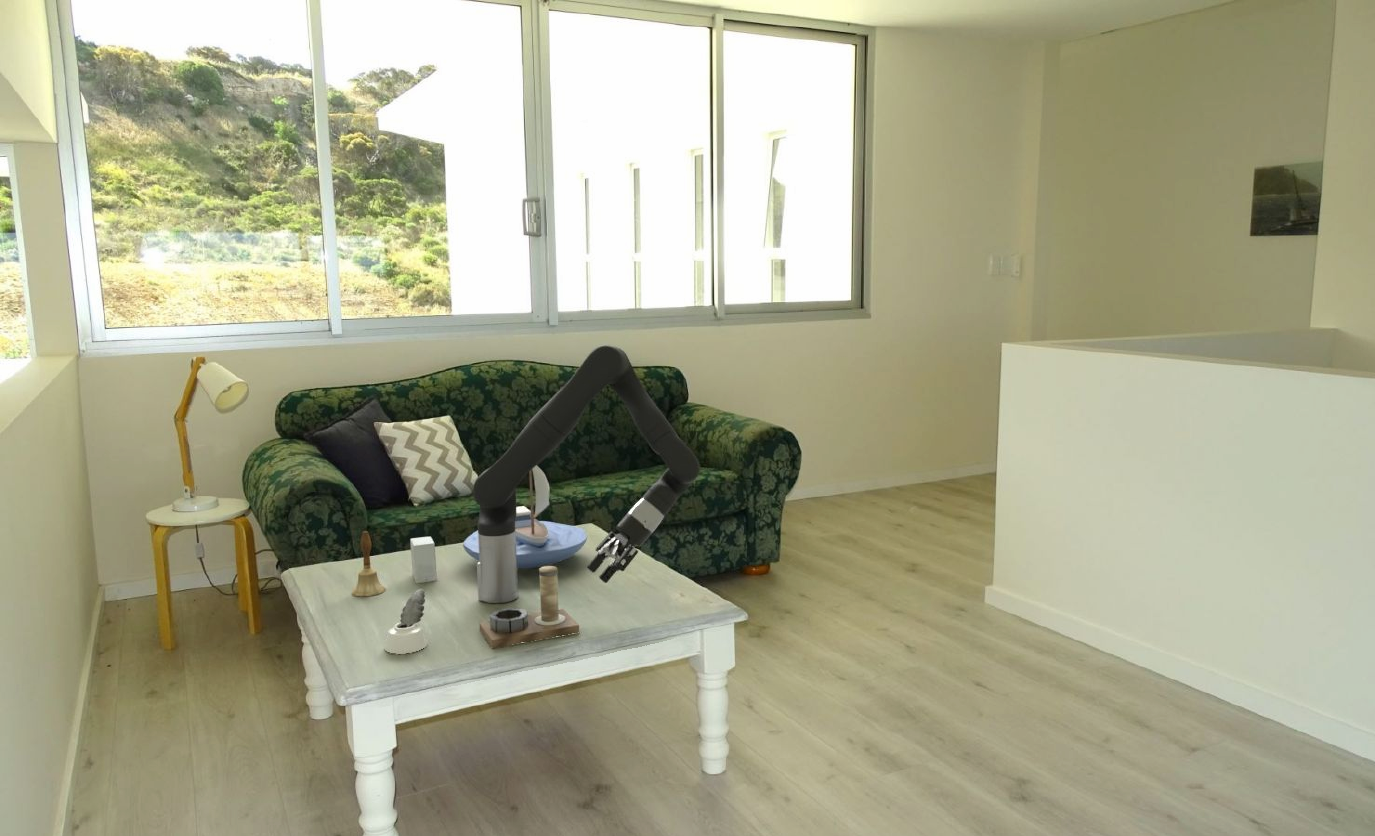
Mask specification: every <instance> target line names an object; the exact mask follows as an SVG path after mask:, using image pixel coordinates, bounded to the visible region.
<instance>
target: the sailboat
mask: <svg viewBox="0 0 1375 836" xmlns="http://www.w3.org/2000/svg"><path fill="white" fill-rule="evenodd" d="M528 473H529V498H530V499H529V500H530V502H529V503H530V509H528V508H527V507H526V506H524V505H522V506H516V521H515V532H516V554H517V570H518V569H519V570H520V569H521V570H522V569H523V570H524V569H525V570H526V569H534V568H535V569H536V568H541V567H545V566H552V565H553V564H557V563H560V562H563V561H564V560H567V559H569V558H571V557H572V556H574V555H575V554H577V553H578V552H579V551H580V550H581V549H582V548H583V546H584V545H585V544H586V542H587V539H588V535H587V533H586V530H585V529H583V528H581V527H578V526H575V525H570V524H564V523H559V522H553V521H545V520H538V519H537V517H538V516H539V515H540V514H541V513H542V512H543V511H545V509H547V507H549V505H550V500H549V498H550V483H549V481H548V479H547V476H546V474H545V472H544V471H543V470H542V469H541V468H540V467H539V466H538V464H537V465H536V466H535V467H534V468H533V469H531V470H530V471H529V472H528ZM532 474H533V475H532ZM532 477H533V478H532ZM533 480H534V490H535V508H534V496H533V495H534V494H533V492H534V491H533ZM462 547H463V549H464V551H465V552H466V553H467V554H468V555H469V556H471V557H472V558H473V559H474V560H476V561H478V562H480V561H479V542H478V529H477V530H476V531H474V532H473V533H472V534H470V535H469V536H468V537H467V538H465V540H464V541H463V542H462Z"/></svg>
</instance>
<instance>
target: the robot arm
mask: <svg viewBox="0 0 1375 836" xmlns="http://www.w3.org/2000/svg"><path fill="white" fill-rule="evenodd" d="M608 386H609V387H610V388H611V390H613V391H614V392H615V394H616V395H617V396H618V397H619V398H620V400H621V401H622V402H623V404H624V405H625V407H626V409H627V411H628V412H629V414H630V415H631V418H632V421H633V422H634V424H635V426H636V428H637V429H638V431H639V432H640V434H641V435H642V438H644V440H645V442H647V444H648V445H649V446H650V448H651V449H652V451H654V453H656V455H659V456H660V459H662V461H663V463H664V464H665V465H666V467H667V469H666V470H665V471H664V472H663V474H662V475H661V476H660V477H659V479H658V480H657V481H656V482H655V483H653V484H652V485H651V486H650V488H648V490H647V491H646V492H645V493H644V495H642V497H641V498H640V499H639V500H638V501H637V502H636V503H635V504H634V505H632V507H631V508H630V509H629V510H628V512H627V513H626V514H625V516H624V517H623V518H622V519H621V520H620V521H619V523H618V524H617V525H616V529H617V530H618V531H619V532H618V533H615V532H614V531H610V532H609V533H608V534H607V535H606V536H605V537H604V539H603V540H601V542H600V543H599V544H598V546H597V547H596V548H595V552H596V553H595V556H594V557H593V559H592V560H591V561H590V562H589V564H587V566H586V568H587V569H588V570H589V571H590V572H591V573H596V571H597V570H598V569H599V568H600V567H601V565H603V563H604V561H606V560H607V559H608V558H611V561H610V563H609V564H608V565H607V567H606V568H605V569H604V570H603V571H602V572H601V574H600V575H599V576H598V577H599V580H601V581H602V582H603V583H608V582H609V581H610V580H611V579H612V578H613V576H614V575H615V574H616V572H620V571H621V572H624V571H625V570H626V569H627V567H628V566H629V565H630V563H632V561H633V559H634V558H635V557H636V556H637V555H638V553H639V550H638V549H637V548H636V547H635V546H637V547H642V546H643V545H644V543H645V542H646V541H647V540H648V539H649V537H650V536H651V535H652V534H653V533H654V531H656V529H657V528H658V526H660V523H662V520H664V518H665V517H666V516H667V514H668V513H669V512H670V510H672V508H673V507H674V505H675V504H676V502H677V501H678V499H679V498H680V497H681V496H682V495H683V494H684V493H685V492H686V491H687V489H688V488H690V486H691V485H692V484H693V483H694V482H695V481H696V480H697V478H698V476H699V474H700V472H701V464H700V462H699V460H698V458H697V456H696V455H695V454H694V452H693V451H692V450H691V449H690V447H688V445H687V444H686V443H685V442H684V441H683V440H682V439H681V438H680V437H679V435H678V433H677V432H676V431H675V428H674V427H673V426H672V425H671V423H670V422H669V420H668V419H667V418H666V417H665V415H664V414H663V413H662V411H661V410H660V409H659V407H658V406H657V405H656V403H655V402H654V400H652V398H651V396H650V395H649V393H648V392H647V391H646V388H644V387H645V386H643V384H642V383H641V381H640V379H639V377H638V375H637V374H636V371H635V370H634V367H633V364H632V362H631V361H630V358H629V357H628V355H627V353H626V352H625V351H624V350H623V349H622V348H619V347H617V346H615V345H611V344H602V345H599V346H596V347H595V348H593V349H592V350H591V351H590V353H589V354H588V355H587V357H586V358H585V359H584V361H583V362H582V363H581V365H580V366H579V367H578V369H577V370H576V371H575V373H574V374H573V375H572V377H571V378H570V379H569V381H568V382H566V383H565V384H564V386H562V387H561V388H560V389H559V390H558V391H557V392H556V393H555V394H554V395H553V396H552V397H551V398H550V399H549V400H548V401H547V402H546V403H545V404H544V405H543V406H542V407H541V408H540V409H539V410H538V411H537V413H536V414H534V416H533V417H532V418H531V419H530V420H529V421H528V422H527V424H526V425H525V426H524V427H523V429H522V430H521V432H519V434H518V435H517V437H515V440H514V441H513V442H512V443H511V445H510V447H509V448H508V449H507V450H506V451H505V453H504V454H503V455H502V456H501V457H500V458H499V459H498V460H496V462H494V463H493V464H492V466H490V467H487V469H485V470H484V471H483V472H482V473H481V474H479V475H478V477H477V478H476V479H475V481H474V483H473V487H472V495H473V499H474V500H475V502H476V503H477V504H478V506H479V517H478V520H477V530H478V542H479V561H478V562H477V563H476V577H477V596H478V598H477V599H478V601H482V602H484V603H489V604H503V603H509V602H512V601H514V600H516V599H518V597H519V581H518V580H519V579H518V578H519V577H518V569H517V554H516V532H515V521H516V507H517V487H518V486H519V484H520V483H521V482H522V480H523V479H524V478H525V476H527V475H528V473H529V471H530V470H531V471H532V469H533V468H534V467H535V466H536V465H537V466H538V465H539V464H540V463H541V462H543V460H545V459H546V458H547V457H548V456H549V455H550V454H551V453H553V452H554V450H556V449H557V448H558V447H559V445H560V444H562V442H564V440H565V439H567V437H568V436H569V435H570V434H571V433H572V432H573V430H574V429H575V427H576V426H577V424H578V423H579V421H580V420H581V417H582V416H583V413H584V412H585V410H586V408H587V407H588V405H589V404H590V403H591V402H592V401H593V400H594V399H595V397H597V396H598V394H599V393H600V392H601V391H603V390H604V389H605V388H606V387H608Z"/></svg>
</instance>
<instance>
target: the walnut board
mask: <svg viewBox="0 0 1375 836" xmlns="http://www.w3.org/2000/svg"><path fill="white" fill-rule="evenodd" d="M559 614H560V615H563V616H565V621H564V622H563V623H561V624H557V625H552V626H543V625H538V624H536V623H535V618H536V617H538V616H541V612H535V613H530V614H529V613H528V625H529V626H528V627H527V628H526V629H525V630H523V631H520V632H516V633H512V634H511V633H510V634H501V633H495V632H494V631H492V630H491V629H490V620H488V621H487V620H486V621H481V622H478V623H479V624H478V625H479V632H480V634H481V633H482V634H481V635H482V636H483V638H484V637H485V638H484V639H485V641H486V640H487V641H486V642H487V644H488V643H489V644H490V645H489V644H488V645H489V646H490V647H492V648H491V649H492V650H493V648H494V649H498V648H497V647H500V648H504V646H506V647H509V646H508V645H511V646H513V645H512V644H517V643H521V642H528V643H532V642H531V641H534V642H536V641H535V640H539V641H541V640H540V639H545V640H547V639H546V638H551V639H553V638H552V637H556V636H562V635H567V636H569V635H568V634H572V633H578V632H579V633H580V624H578V622H577V621H576V620H575V619H574V618H573V617H572V616H571V615H570V614H569V613H568V612H567V611H566V610H565V609H564V608H560V609H559ZM562 637H563V636H562ZM556 638H557V637H556ZM517 645H518V644H517Z"/></svg>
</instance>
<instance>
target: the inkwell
mask: <svg viewBox="0 0 1375 836" xmlns="http://www.w3.org/2000/svg"><path fill="white" fill-rule="evenodd" d="M425 598H426V595H425V590H424V589H422V588H418V589H417V590H416V591H414V592H413V593H412V594H411V596H410V597H409V598H408V599H407V601H406V603H405V605H404V607H403V608H402V612H401V614H400V620H399V621H400V622H398V623H395V624H394V626H393V627H391V628H389V630H387V635H386V639H385V643H384V644H385V645H384V651H385V652H386V651H387V652H390V653H389V654H391V653H396V654H395V655H398V654H401V655H407V654H406V653H410V654H413V653H412V652H415V651H418V652H420V651H422V650H421V649H423V648H424V649H426V647H428V640H427V637H426V635H425V632H424V629H423V628H422V626H421V625H419V624H418V623H420V621H421V620H422V619H421V618H422V617H424V614H425V613H424V612H423V611H424V610H425V606H424V604H425V602H426V599H425ZM424 649H423V650H424ZM419 650H420V651H419ZM387 652H386V653H387ZM415 653H416V652H415Z"/></svg>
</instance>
